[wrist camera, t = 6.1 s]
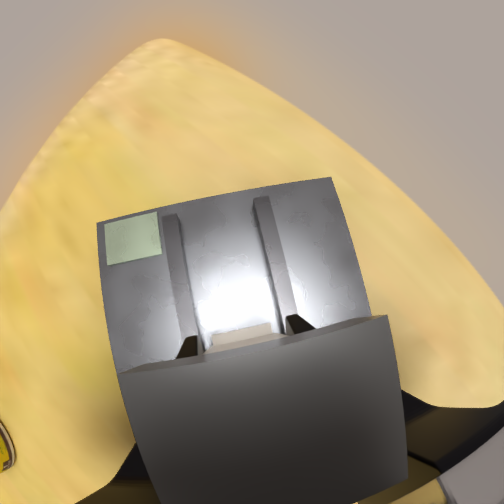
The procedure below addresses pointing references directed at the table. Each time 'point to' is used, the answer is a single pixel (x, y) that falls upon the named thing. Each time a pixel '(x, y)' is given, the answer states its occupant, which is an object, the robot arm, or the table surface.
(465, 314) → the table surface
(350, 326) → the handle
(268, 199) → the box
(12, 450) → the supplement bottle
